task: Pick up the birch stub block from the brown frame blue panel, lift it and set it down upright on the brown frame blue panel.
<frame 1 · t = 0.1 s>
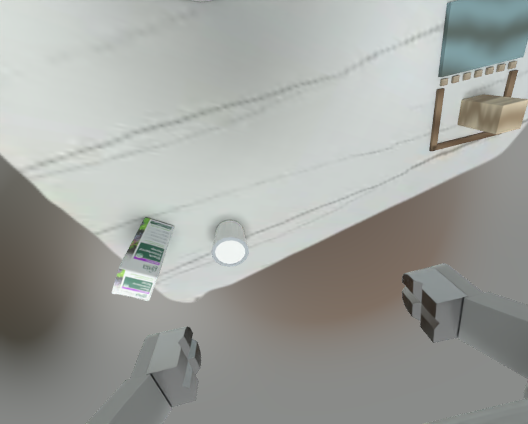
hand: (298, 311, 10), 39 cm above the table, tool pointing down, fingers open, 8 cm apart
syrup box: (156, 232, 52), on the table
white cylinder: (229, 231, 54), on the table
birch stub block: (470, 109, 47), resting in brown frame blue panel
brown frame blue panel: (477, 73, 44), on the table
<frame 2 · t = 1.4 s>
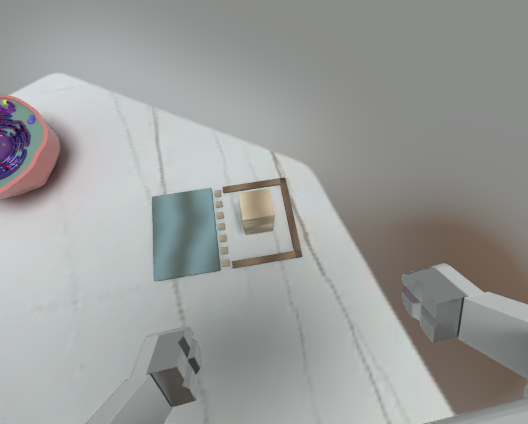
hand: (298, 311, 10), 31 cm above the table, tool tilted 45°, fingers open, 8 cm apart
birch stub block: (257, 221, 43), resting in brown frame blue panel
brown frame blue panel: (221, 227, 43), on the table
cell model: (30, 167, 47), on the table
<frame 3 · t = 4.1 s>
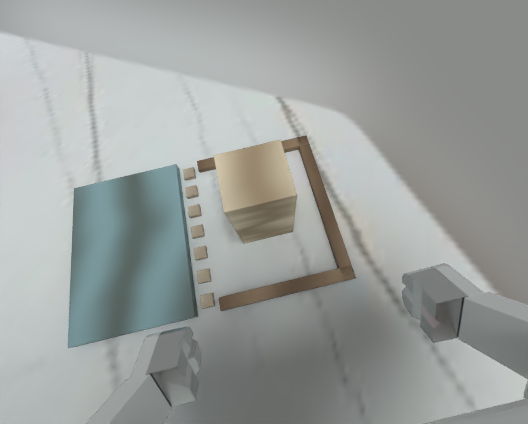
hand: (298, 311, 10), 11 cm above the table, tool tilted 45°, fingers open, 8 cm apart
birch stub block: (263, 216, 23), resting in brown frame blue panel
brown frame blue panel: (198, 232, 23), on the table
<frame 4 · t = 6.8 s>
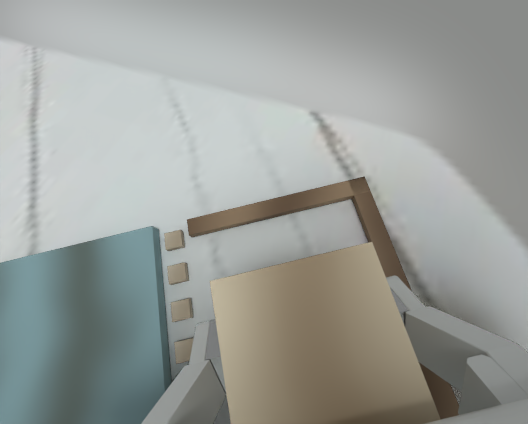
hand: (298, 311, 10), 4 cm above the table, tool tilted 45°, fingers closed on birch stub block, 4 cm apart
birch stub block: (298, 322, 14), resting in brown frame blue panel, touching gripper
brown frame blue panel: (187, 349, 14), on the table
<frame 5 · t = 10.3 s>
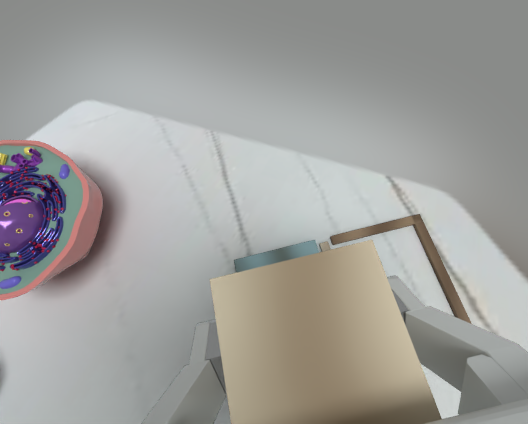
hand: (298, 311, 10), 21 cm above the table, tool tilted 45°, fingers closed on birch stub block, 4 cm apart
birch stub block: (298, 321, 14), point 17 cm above the table, touching gripper
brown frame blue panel: (341, 297, 29), on the table
cell model: (66, 229, 36), on the table
when the fingers open (7 cm above the table, at t = 14.3 s): birch stub block drops 1 cm, resting on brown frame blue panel.
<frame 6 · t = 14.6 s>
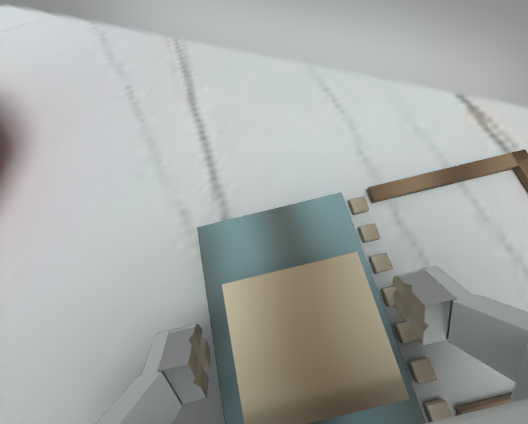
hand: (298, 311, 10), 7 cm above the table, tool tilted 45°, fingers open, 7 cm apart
birch stub block: (296, 320, 15), point 1 cm above the table, touching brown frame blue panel
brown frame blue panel: (392, 295, 16), on the table
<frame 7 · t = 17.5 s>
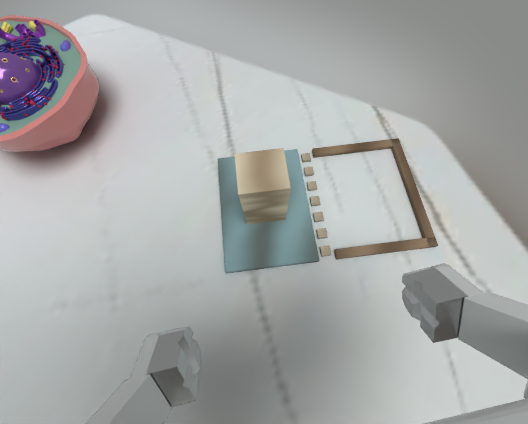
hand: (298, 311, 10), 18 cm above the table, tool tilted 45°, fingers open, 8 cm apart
birch stub block: (264, 205, 30), point 1 cm above the table, touching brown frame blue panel
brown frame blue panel: (314, 201, 31), on the table
cell model: (59, 120, 36), on the table
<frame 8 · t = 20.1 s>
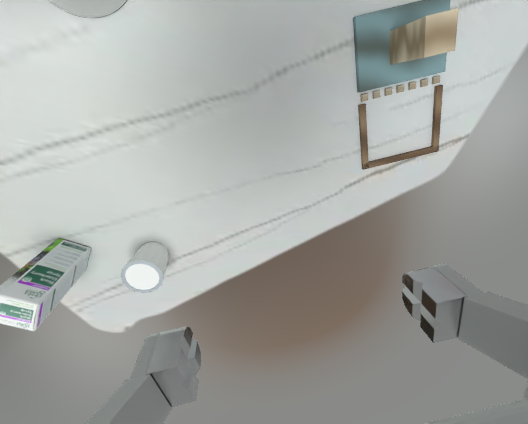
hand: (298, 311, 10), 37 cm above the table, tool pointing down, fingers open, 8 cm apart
syrup box: (73, 254, 49), on the table
white cylinder: (154, 253, 50), on the table
birch stub block: (402, 45, 39), point 1 cm above the table, touching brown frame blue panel
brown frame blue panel: (399, 88, 42), on the table
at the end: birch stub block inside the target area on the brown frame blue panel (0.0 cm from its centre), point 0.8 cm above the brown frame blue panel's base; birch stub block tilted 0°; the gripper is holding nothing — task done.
